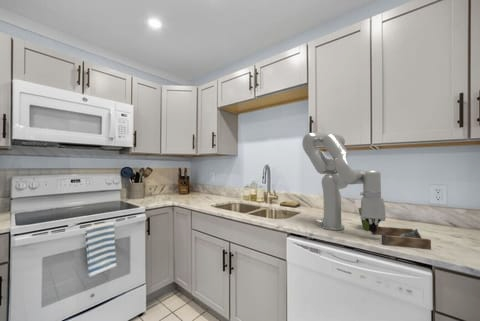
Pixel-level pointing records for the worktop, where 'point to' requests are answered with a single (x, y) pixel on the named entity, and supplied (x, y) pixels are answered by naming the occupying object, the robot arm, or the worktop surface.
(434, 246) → the worktop surface
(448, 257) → the worktop surface
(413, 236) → the grey irregular lump
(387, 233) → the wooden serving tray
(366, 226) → the plant pot
